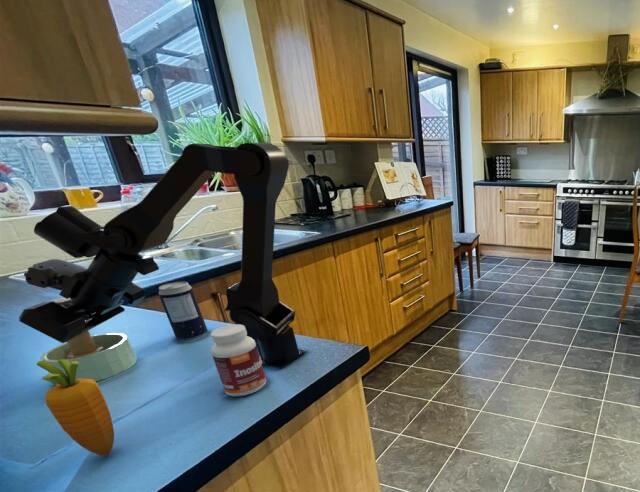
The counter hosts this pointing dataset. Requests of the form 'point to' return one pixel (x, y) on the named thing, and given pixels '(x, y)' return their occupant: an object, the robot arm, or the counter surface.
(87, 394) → the carrot
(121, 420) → the counter surface
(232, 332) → the pill bottle
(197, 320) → the dark blue jar
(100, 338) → the bowl
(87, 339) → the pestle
